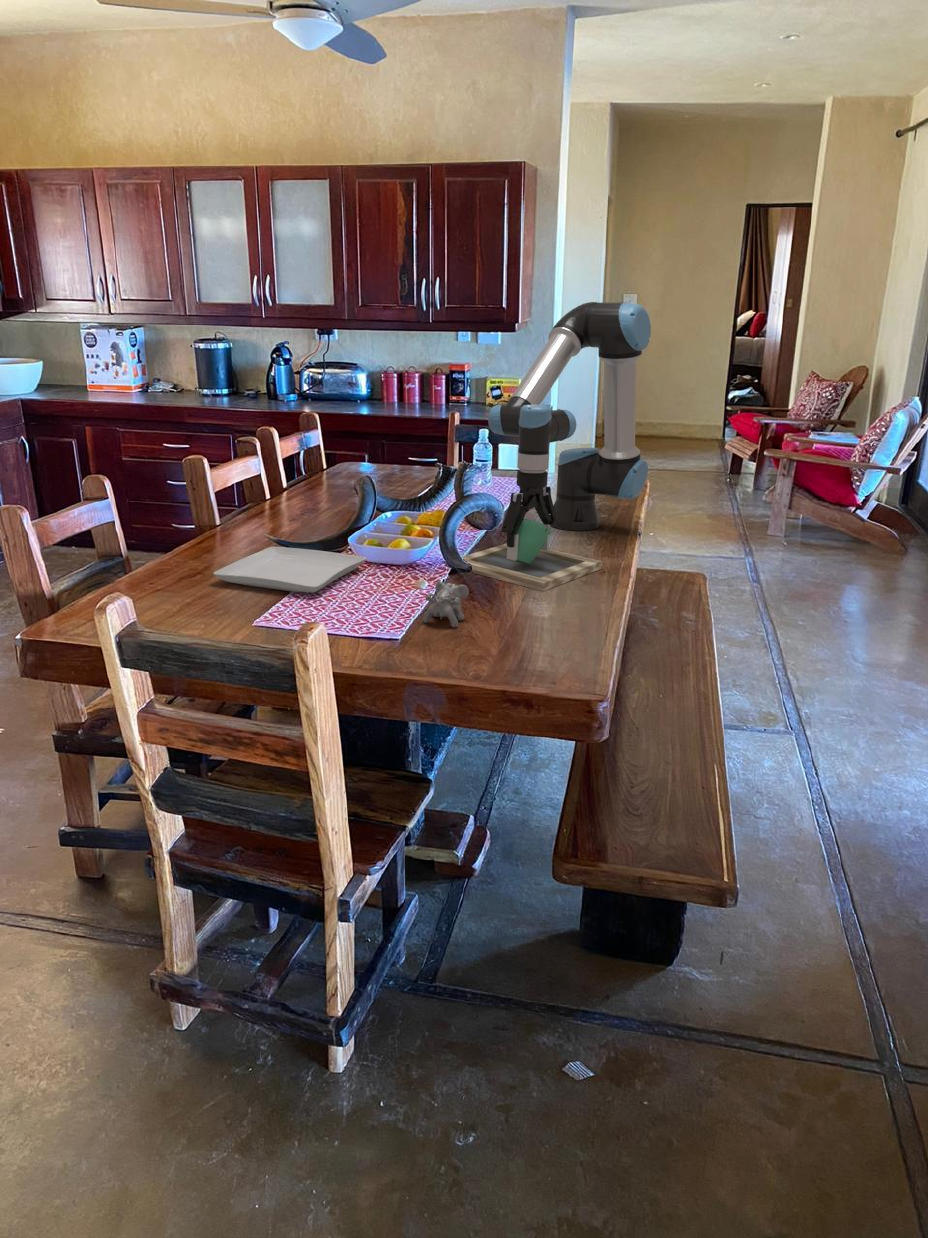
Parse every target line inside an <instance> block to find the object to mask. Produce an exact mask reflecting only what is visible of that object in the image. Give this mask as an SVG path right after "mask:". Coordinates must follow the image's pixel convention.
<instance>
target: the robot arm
mask: <svg viewBox="0 0 928 1238" xmlns="http://www.w3.org/2000/svg"><path fill="white" fill-rule="evenodd" d="M651 328H652V327H651V319H650V316H649V313H648V311H647V310H646V308H645V307H644V306H643V305H641V304H638V303H630V302H598V301H590V302H589V301H588V302H585V303H581V304H580V305H578V306H576V307H575V308H574V307H573V308H572V309H571V310H569V311H568V312H567V313H566V314H564V315H563V316H562V317H561V318H560V319H559V320H558V321H557V322H556V323H555V325H554V326H553V327H552V328H551V330H550V332H549V333H548V337H547V338H548V341H547V343H546V344H545V345H544V347H543V349H542V350H541V351H540V353H539V354H538V356H537V357H536V359H535V361H534V362H533V364H532V365H531V366H530V368H529V369H528V371H527V373H526V374H525V376H524V377H523V378H522V380H521V381H520V383H519V385H518V386H517V387H516V389H515V390H514V392H513V393H512V395H511V396H510V398H509V399H508V400H507V402H506V403H505V404H495V405H493V406H492V408H491V409H490V410H489V414H488V417H487V418H488V422H487V423H488V427H489V429H490V431H491V432H492V433H494V434H496V435H501V436H505V437H508V436H509V437H515V438H518V450H517V468H518V470H517V471H516V486H517V487H519V492H518V493H517V492H511V494H510V500H509V505H508V507H507V510H506V514H505V517H504V520H503V524H502V527H501V532H502V533H504V534H506V543H507V559H510V560H515V561H516V560H517V557H518V536H519V534H516V533H517V531H518V529H519V527H520V525H521V523H522V521H523V519H525V517H526V514H527V513H528V512H529V511H530V510H531V509H533V508H534V509H535V511H536V513H537V515H538V517H539V519H540V522H541V523H542V524H544V525H545V529H547V528H548V527H550V528H551V527H553V528H555V529H561V530H566V531H576V532H579V531H582V532H583V531H591V530H595V529H598V528H599V527H600V518H599V517H600V516H599V513H598V509H597V505H596V495H599V496H605V497H611V498H617V499H619V500H620V499H621V500H622V499H627V500H633V499H636V498H637V497H638V496H639V495H640V494H641V492H643V489H644V487H645V485H646V482H647V478H648V473H649V464H648V462H647V460H645V459H644V458H641V450H640V449H639V447H637V445H636V400H637V399H636V395H637V394H636V389H637V388H636V386H637V384H636V382H637V378H636V376H637V375H636V374H637V360H638V359H639V358H640V357H641V356H642V355H643V354H642V353H643V352H642V351H644V350H645V349H647V347H648V345H649V343H650V338H651V334H652V333H651V332H652V331H651V330H652V329H651ZM589 347H590V348H598V354H597V355H598V358H599V359H600V360H601V361H602V362H603V371H604V372H603V381H604V382H603V385H604V386H603V390H604V392H603V393H604V394H603V397H604V399H603V400H604V401H603V402H604V403H603V406H604V407H603V408H604V409H603V413H604V416H603V417H604V423H603V425H604V432H603V433H604V437H603V438H604V439H603V440H604V442H603V443H604V446H603V447H602V448H601V449H600V450H599V448H598V447H576V448H568V449H565V450H563V451H561V452H560V453H559V456H558V464H557V476H556V477H557V479H556V497H555V501H554V502H553V498H552V491H551V490H552V488H551V486H548V472H547V471H548V470H549V459H550V458H549V457H550V455H549V453H550V451H549V450H550V443H554V442H562V441H564V440H566V439H569V438H571V437H572V436H573V435H574V434H575V432H576V430H577V420H576V416H575V415H574V413H572V412H571V411H570V410H567V409H560V408H559V409H558V408H557V409H554V410H553V409H551V407H550V406H549V405H546V404H545V405H543V404H542V403H543V401H544V400H545V398H546V397H547V395H548V394H549V392H550V391H551V389H552V388H553V386H554V384H555V383H556V382H557V380H558V378H559V377H560V375H561V374H562V373H563V370H565V367H567V365H568V363H569V362H570V360H571V359H572V357H575V356H577V355H578V354H580V351H581V350H582V349H586V348H589ZM513 528H514V529H513ZM550 534H551V532H550V533H549V535H548V537H547V539H546V541H545V543H544V544H543V546H542V548H541V549H543V550H549V549H550V548H549V547H550V546H549V545H550Z"/></svg>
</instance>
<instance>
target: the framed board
mask: <svg viewBox="0 0 928 1238" xmlns="http://www.w3.org/2000/svg"><path fill="white" fill-rule="evenodd" d="M461 557H462V558H463V559H464V560H465V561H467V562H468V563H470V564H471V565H472V572H473V573H472V572H471V573H472V574H476V575H479V576H484V577H487V578H492V579H495V580H499V581H503V582H507V583H510V584H513V585H514V584H515V585H518V586H521V587H526V588H529V589H534V590H537V591H541V592H545V591H548V590H550V589H553V588H555V587H558V586H561V585H564V584H565V583H568V582H571V581H573V580H576V579H579V578H582V577H584V576H587V575H589V574H592V573H594V572H597V571H599V570H602V567H603V561H602V560H597V559H595V558H594V559H593V558H590V557H585V556H581V555H578V554H572V553H567V552H563V551H559V550H555V549H550V548H549V550H543V549H541V550H540V551H539V553H538V554H537V556H536V557H535V559H534V560H533V561H532V563H531V564H530V565H528V564H523V563H519V562H516V561H513V560H510V559H507V542H506V543H503V544H499V545H496V546H493V547H490V548H486V549H484V550H480V551H476V552H473V553H471V554H466V555H463V556H461ZM476 561H477V562H476Z"/></svg>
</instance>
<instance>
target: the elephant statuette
mask: <svg viewBox="0 0 928 1238" xmlns="http://www.w3.org/2000/svg"><path fill="white" fill-rule="evenodd" d="M435 592H436V594H433V593H430V592H428V593H427V594H426V595H425V600H426V601H427V602H431V603H430V605H429V606H428V608H427V609H426V611H425V612H424V614H423V615H422V620H423V622H424V623H425V624H429V623H430V621H431V619H432V617H434V618H439V617H440V620H442V619H443V617H447V618H448V621H449V623H450V626H451V628H457V627H458V626H459V622H461V621H463V620H464V619H465V615H464V614H463V611H462V603H461V602H462V601H461V600H462V599H464V598H467V597H468V596H469V592H470V591H469V588H468V586H467V585H466V584H455V583H451V582H447V583H445V582H442V581H441V580H440V581H439V580H437V582H436V583H435ZM432 597H433V598H432Z"/></svg>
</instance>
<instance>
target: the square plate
mask: <svg viewBox="0 0 928 1238" xmlns="http://www.w3.org/2000/svg"><path fill="white" fill-rule="evenodd" d="M366 560H367V557H366V556H361V555H354V554H353V555H352V554H346V553H341V552H333V551H327V550H326V551H324V550H317V549H307V548H299V547H298V548H295V547H286V546H285V547H283V546H270V547H267V548H264V549H262V550H260V551H258V552H255V553H253V554H251V555H248V556H245V557H242V558H241V559H238V560H236V561H234V562H232V563H230V564H228V565H225V566H223V567H222V568H220V569H218V570H216V571H214V572H213V573H212V574H213V575H214V576H216V577H217V578H218V579H220V580H222V581H224V582H227V583H231V584H239V585H244V586H249V587H257V588H265V589H272V590H278V591H279V590H280V591H284V592H285V591H287V592H294V593H310V594H311V593H312V594H313V593H316V592H318V591H320V590H322V589H324V588H325V587H326V586H328V585H330V584H331V583H333V582H334V580H335V581H336V580H338V579H339V577H340V578H341V577H343V576H345V575H347V574H349V573H351V572H352V571H354V570H356V569H357V568H358V567H360V566H361V565H362V564H363V563H364V562H365V561H366ZM329 583H330V584H329Z"/></svg>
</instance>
